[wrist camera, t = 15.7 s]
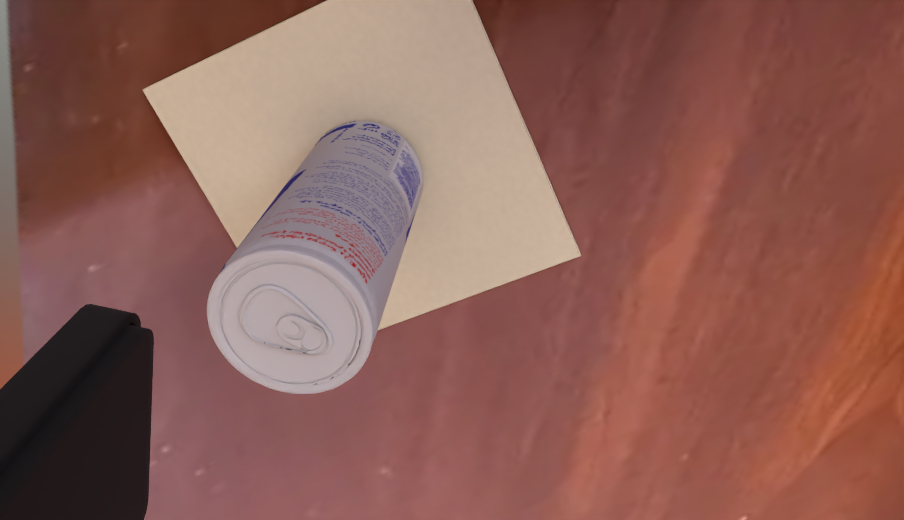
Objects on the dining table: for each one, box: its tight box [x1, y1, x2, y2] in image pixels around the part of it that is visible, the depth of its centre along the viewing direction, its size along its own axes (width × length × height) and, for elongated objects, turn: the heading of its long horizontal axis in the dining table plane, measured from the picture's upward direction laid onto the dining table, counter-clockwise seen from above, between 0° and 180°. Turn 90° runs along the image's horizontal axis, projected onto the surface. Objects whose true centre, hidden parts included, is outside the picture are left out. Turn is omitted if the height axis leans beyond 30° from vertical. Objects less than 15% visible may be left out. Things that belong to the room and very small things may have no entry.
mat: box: [143, 0, 581, 330], centre depth 41 cm, size 16×16×1 cm
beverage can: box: [207, 121, 424, 394], centre depth 34 cm, size 6×6×15 cm
